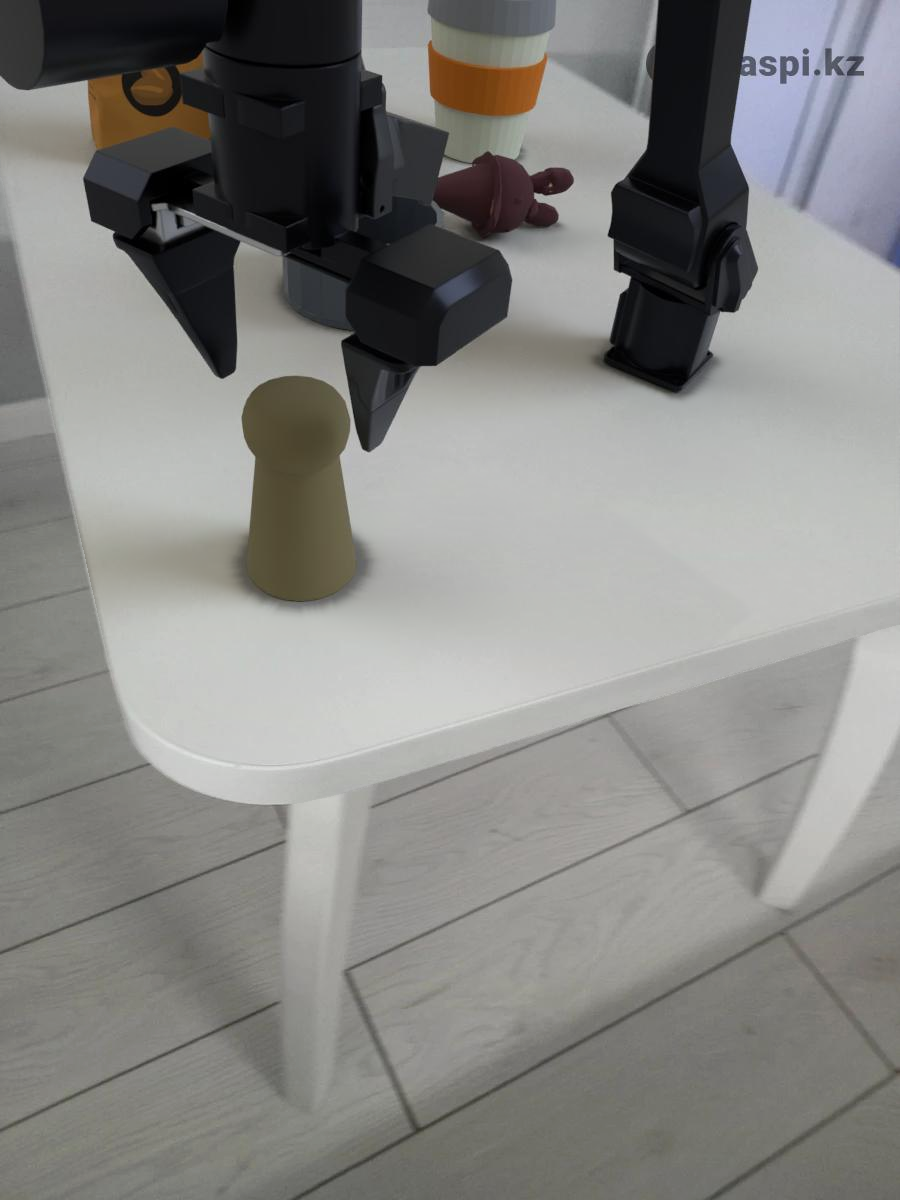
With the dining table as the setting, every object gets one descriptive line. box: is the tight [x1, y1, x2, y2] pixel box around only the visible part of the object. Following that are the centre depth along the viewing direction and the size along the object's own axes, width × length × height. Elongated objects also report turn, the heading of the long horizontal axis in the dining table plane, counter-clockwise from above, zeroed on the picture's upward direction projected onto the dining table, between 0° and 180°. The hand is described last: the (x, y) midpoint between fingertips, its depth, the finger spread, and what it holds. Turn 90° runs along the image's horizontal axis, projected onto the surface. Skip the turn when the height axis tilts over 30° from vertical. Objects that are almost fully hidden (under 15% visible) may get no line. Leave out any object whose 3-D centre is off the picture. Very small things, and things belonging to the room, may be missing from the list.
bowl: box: [281, 196, 445, 331], centre depth 71 cm, size 12×12×6 cm
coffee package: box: [87, 52, 211, 150], centre depth 82 cm, size 10×12×22 cm
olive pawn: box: [241, 375, 357, 602], centre depth 47 cm, size 6×6×11 cm
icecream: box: [433, 151, 575, 239], centre depth 81 cm, size 7×7×15 cm
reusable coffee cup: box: [426, 0, 557, 164], centre depth 93 cm, size 13×12×15 cm
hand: (296, 409), depth 44 cm, fingers open, 9 cm apart
